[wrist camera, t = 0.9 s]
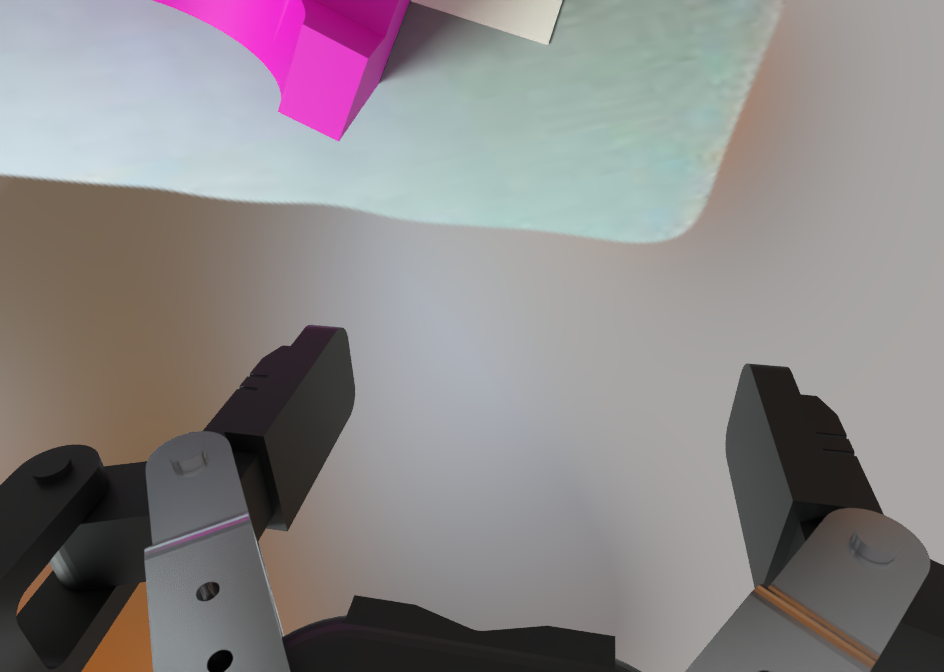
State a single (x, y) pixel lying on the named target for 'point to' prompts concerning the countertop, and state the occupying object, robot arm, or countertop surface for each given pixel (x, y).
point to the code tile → (505, 15)
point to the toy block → (312, 50)
